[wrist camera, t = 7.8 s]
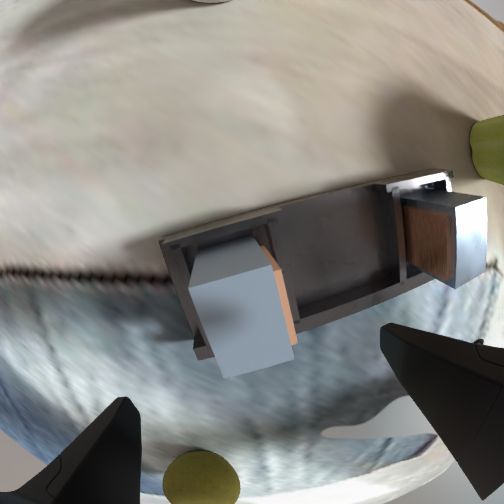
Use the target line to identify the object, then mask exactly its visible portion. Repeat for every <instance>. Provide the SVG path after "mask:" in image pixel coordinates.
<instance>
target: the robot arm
mask: <svg viewBox="0 0 504 504" xmlns="http://www.w3.org/2000/svg"><path fill="white" fill-rule="evenodd" d="M483 342H484V340H483V339H480V340H479V341H477V342H476V343H475V344H474V343H473V342H468V341H464V340H460V339H455V338H451V337H447V336H443V335H438V334H434V333H430V332H426V331H422V330H418V329H414V328H410V327H406V326H402V325H398V324H395V323H388V324H386V325H384V326H382V327H381V329H380V348H381V351H382V353H383V354H384V356H385V358H386V359H387V361H388V363H389V364H390V366H391V368H392V370H393V371H394V373H395V375H396V377H397V378H398V380H399V382H400V383H401V384H402V386H403V387H404V389H405V390H406V391H407V393H408V394H409V395H410V397H411V398H412V399H413V401H414V402H415V403H416V405H417V406H418V407H419V409H420V410H421V411H422V413H423V414H424V416H425V417H426V418H427V420H428V421H429V422H430V424H431V425H432V427H433V428H434V430H435V431H436V432H437V434H438V435H439V437H440V438H441V439H442V441H443V442H444V444H445V445H446V447H447V448H448V450H449V451H450V452H451V454H452V455H453V457H454V458H455V460H456V461H457V462H458V464H459V466H460V467H461V469H462V470H463V472H464V473H465V475H466V476H467V478H468V479H469V481H470V483H471V484H472V486H473V487H474V489H475V490H476V492H477V494H478V495H479V497H480V498H481V499H482V500H484V499H486V498H487V497H488V496H489V495H490V494H492V493H493V492H494V491H495V490H496V489H498V488H499V487H500V486H501V485H502V484H503V483H504V348H498V347H492V346H487V345H483ZM141 456H142V445H141V417H140V413H139V411H138V410H137V408H136V407H135V406H134V404H133V403H132V401H131V400H130V399H129V398H128V397H118V398H116V399H115V400H114V401H113V402H112V403H111V404H110V405H109V406H108V407H107V408H106V409H105V410H104V411H103V412H102V413H101V414H100V415H99V416H98V417H97V418H96V419H95V420H94V421H93V422H92V423H91V424H90V425H89V426H88V427H87V428H86V429H85V430H84V431H83V432H82V433H81V434H80V435H79V436H78V437H77V438H76V439H75V440H74V441H73V442H72V443H71V444H70V445H69V446H67V447H66V448H65V449H64V450H63V451H62V452H61V455H60V454H59V455H58V456H57V457H56V458H55V459H54V460H53V461H52V462H51V463H50V464H49V465H48V466H47V467H45V468H44V469H43V470H42V471H41V472H39V473H38V474H37V475H36V476H34V477H33V478H32V479H31V480H29V481H28V482H27V483H25V484H24V485H23V486H22V487H20V488H19V489H17V490H15V491H12V492H0V504H140V477H141Z"/></svg>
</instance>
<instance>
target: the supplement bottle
mask: <svg viewBox="0 0 504 504" xmlns="http://www.w3.org/2000/svg"><path fill="white" fill-rule="evenodd" d="M193 1H198V2H206V3H218V2H226V1H230V0H193Z"/></svg>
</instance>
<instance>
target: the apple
mask: <svg viewBox="0 0 504 504" xmlns="http://www.w3.org/2000/svg"><path fill="white" fill-rule="evenodd" d="M163 491H164V494H165V496H166V498H167V499H168V500H169V502H170V503H171V504H235V502H236V501H237V499H238V497H239V494H240V481H239V478H238V475H237V473H236V472H235V470H234V469H233V467H232V466H231V465H230V464H229V463H228V461H226V460H225V459H224V458H223V457H221V456H219V455H218V454H215V453H212V452H207V451H193V452H189V453H186V454H183V455H181V456H180V457H178V458H177V459H175V460H174V461H173V462H172V463H171V464H170V466H169V467H168V468H167V470H166V472H165V474H164V477H163Z"/></svg>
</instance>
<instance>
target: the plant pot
mask: <svg viewBox="0 0 504 504" xmlns="http://www.w3.org/2000/svg"><path fill="white" fill-rule="evenodd" d="M470 145H471V148H472V161H473V164H474V166H475V168H476V170H477V172H478V173H479V175H480V176H481V177H483V178H484V179H487V180H490V181H493V182H496V183H499V184H502V185H504V115H501V116H497V117H494V118H490V119H486V120H482V121H479V122H476V123H475V124H474V125H473V127H472V129H471V133H470Z"/></svg>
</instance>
